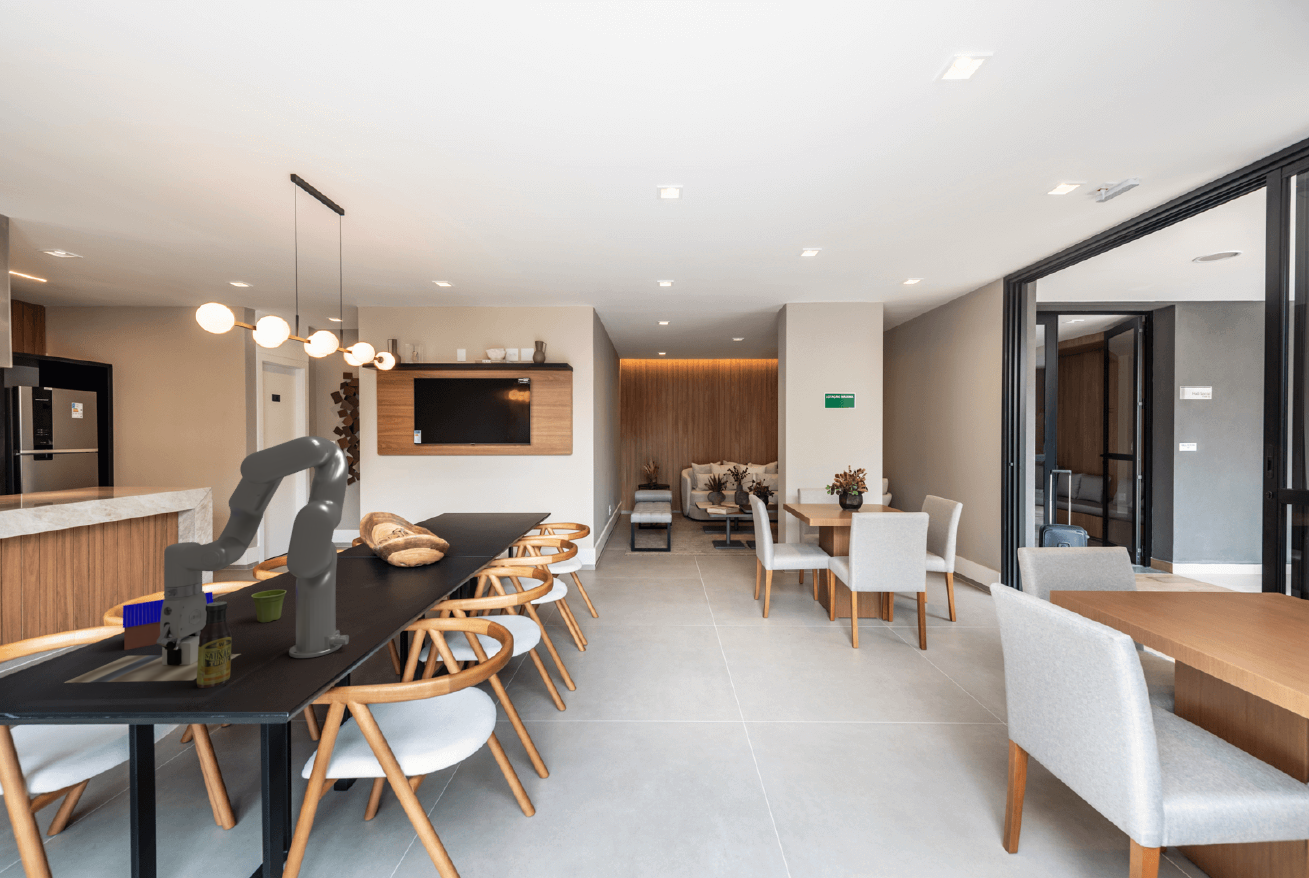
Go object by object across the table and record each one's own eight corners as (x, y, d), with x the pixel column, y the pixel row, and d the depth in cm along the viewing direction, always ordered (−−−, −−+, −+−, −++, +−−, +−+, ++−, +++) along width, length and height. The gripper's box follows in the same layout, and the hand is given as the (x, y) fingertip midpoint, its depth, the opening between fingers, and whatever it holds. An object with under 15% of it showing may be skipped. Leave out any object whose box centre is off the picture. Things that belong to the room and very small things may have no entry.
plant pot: (258, 616, 180) (258, 590, 180) (290, 613, 183) (290, 588, 183) (246, 625, 171) (246, 598, 171) (280, 622, 174) (280, 595, 174)
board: (241, 658, 145) (241, 653, 145) (192, 685, 129) (192, 680, 129) (127, 660, 144) (127, 655, 144) (63, 687, 128) (63, 682, 128)
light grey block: (205, 656, 143) (205, 635, 143) (190, 664, 138) (190, 642, 138) (178, 657, 143) (178, 635, 143) (161, 664, 138) (162, 642, 138)
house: (123, 640, 160) (123, 601, 160) (210, 624, 174) (210, 588, 174) (122, 651, 151) (122, 610, 151) (214, 633, 165) (214, 595, 165)
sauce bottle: (203, 695, 124) (203, 609, 124) (191, 689, 127) (191, 605, 127) (236, 684, 130) (236, 602, 130) (224, 678, 133) (224, 598, 133)
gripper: (170, 600, 132) (170, 673, 132) (223, 581, 149) (223, 647, 149) (138, 600, 132) (138, 674, 132) (195, 582, 149) (195, 647, 149)
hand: (183, 659), depth 141 cm, fingers closed on light grey block, 5 cm apart
